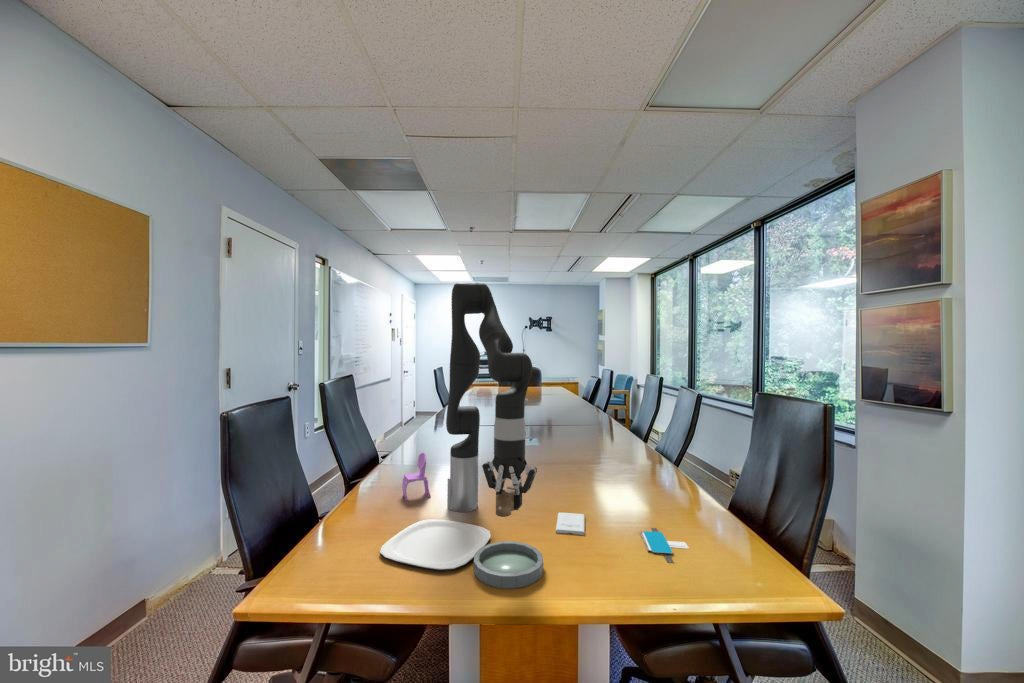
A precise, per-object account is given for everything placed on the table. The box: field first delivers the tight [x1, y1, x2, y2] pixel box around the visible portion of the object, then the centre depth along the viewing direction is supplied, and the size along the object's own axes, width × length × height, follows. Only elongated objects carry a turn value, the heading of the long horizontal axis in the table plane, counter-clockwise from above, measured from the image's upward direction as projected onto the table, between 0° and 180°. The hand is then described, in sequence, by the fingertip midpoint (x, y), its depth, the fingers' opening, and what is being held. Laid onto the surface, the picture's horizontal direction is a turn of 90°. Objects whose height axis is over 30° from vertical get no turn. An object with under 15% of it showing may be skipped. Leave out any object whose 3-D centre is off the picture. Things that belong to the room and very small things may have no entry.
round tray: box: [473, 540, 544, 590], centre depth 100 cm, size 16×16×3 cm
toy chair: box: [401, 452, 432, 502], centre depth 147 cm, size 8×9×15 cm
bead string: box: [495, 484, 515, 518], centre depth 100 cm, size 4×11×4 cm, turn 159°
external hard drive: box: [555, 512, 585, 536], centre depth 125 cm, size 2×8×12 cm
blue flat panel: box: [638, 527, 690, 564], centre depth 113 cm, size 20×12×2 cm, turn 173°
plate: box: [379, 518, 492, 571], centre depth 111 cm, size 25×25×2 cm
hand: (509, 507), depth 100 cm, fingers closed on bead string, 3 cm apart
